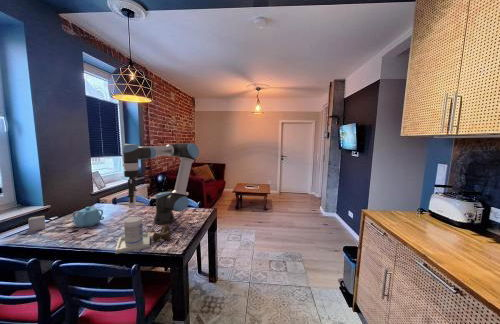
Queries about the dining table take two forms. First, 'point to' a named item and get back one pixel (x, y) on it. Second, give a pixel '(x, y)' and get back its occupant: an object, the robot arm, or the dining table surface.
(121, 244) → the sage tray
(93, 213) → the decorative pot
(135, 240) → the supplement tub
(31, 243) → the dining table surface
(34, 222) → the medicine box
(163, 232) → the kendama
